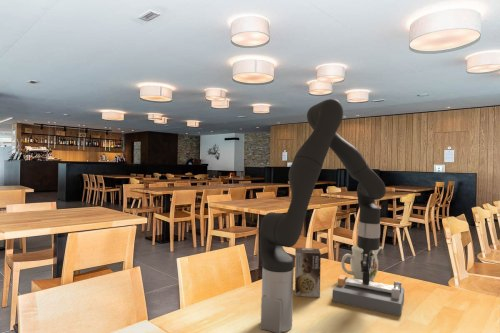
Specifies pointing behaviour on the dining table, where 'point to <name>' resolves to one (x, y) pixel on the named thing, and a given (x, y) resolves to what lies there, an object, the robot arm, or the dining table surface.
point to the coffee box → (307, 272)
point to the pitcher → (356, 263)
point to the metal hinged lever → (371, 285)
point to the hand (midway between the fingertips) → (366, 282)
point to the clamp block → (371, 298)
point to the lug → (342, 280)
